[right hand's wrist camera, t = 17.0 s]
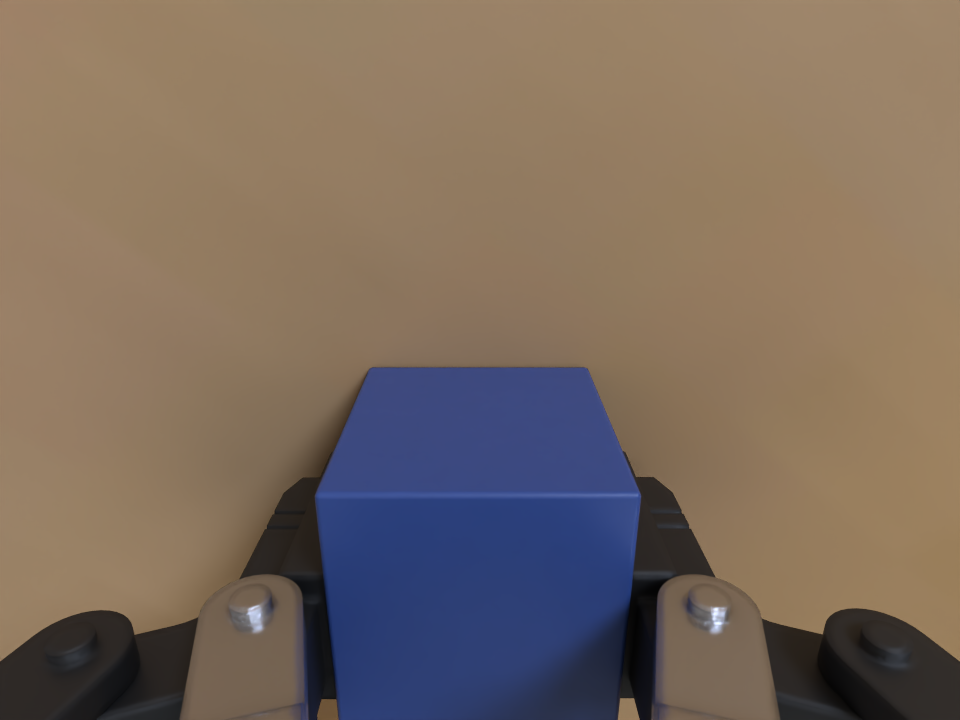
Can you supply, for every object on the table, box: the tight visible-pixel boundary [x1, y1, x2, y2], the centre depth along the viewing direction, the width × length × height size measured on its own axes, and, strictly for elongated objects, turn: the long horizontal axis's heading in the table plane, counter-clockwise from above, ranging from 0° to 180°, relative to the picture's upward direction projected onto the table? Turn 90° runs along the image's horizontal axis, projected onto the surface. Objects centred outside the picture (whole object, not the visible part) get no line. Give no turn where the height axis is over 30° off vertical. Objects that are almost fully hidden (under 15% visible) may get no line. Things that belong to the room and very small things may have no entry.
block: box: [315, 368, 641, 720], centre depth 11 cm, size 5×4×4 cm
